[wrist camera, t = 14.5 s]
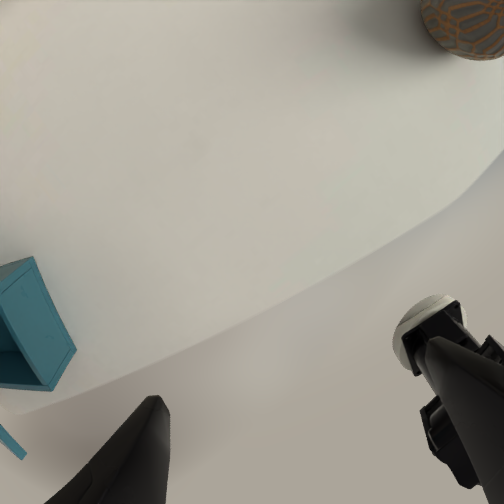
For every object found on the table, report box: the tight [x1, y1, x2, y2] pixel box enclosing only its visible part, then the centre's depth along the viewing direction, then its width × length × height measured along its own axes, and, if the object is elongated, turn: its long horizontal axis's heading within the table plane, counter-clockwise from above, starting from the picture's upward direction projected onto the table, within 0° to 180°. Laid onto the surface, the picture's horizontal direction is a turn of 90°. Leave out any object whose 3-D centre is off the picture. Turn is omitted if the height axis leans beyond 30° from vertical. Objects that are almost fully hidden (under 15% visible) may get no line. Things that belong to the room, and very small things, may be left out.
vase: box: [421, 0, 504, 61], centre depth 11 cm, size 7×7×9 cm
